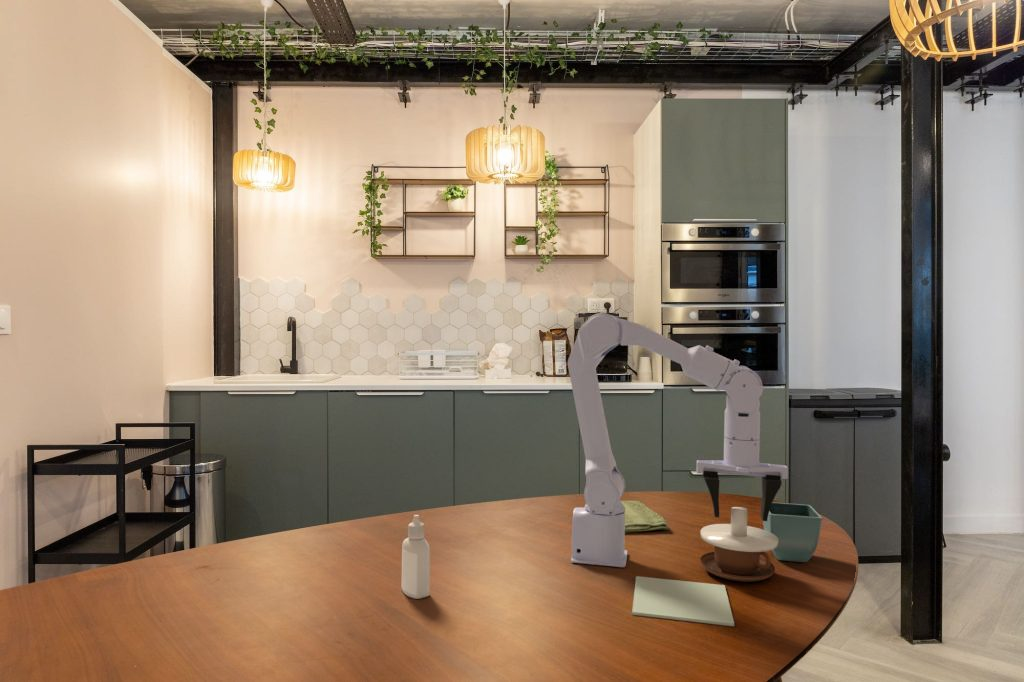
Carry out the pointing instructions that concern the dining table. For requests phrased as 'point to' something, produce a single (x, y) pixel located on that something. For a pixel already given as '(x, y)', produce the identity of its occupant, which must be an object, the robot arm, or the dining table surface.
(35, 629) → the dining table surface
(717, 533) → the lid
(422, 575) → the eye dropper bottle
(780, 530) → the flower pot
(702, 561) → the cup and saucer
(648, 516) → the washcloth
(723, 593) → the plate
